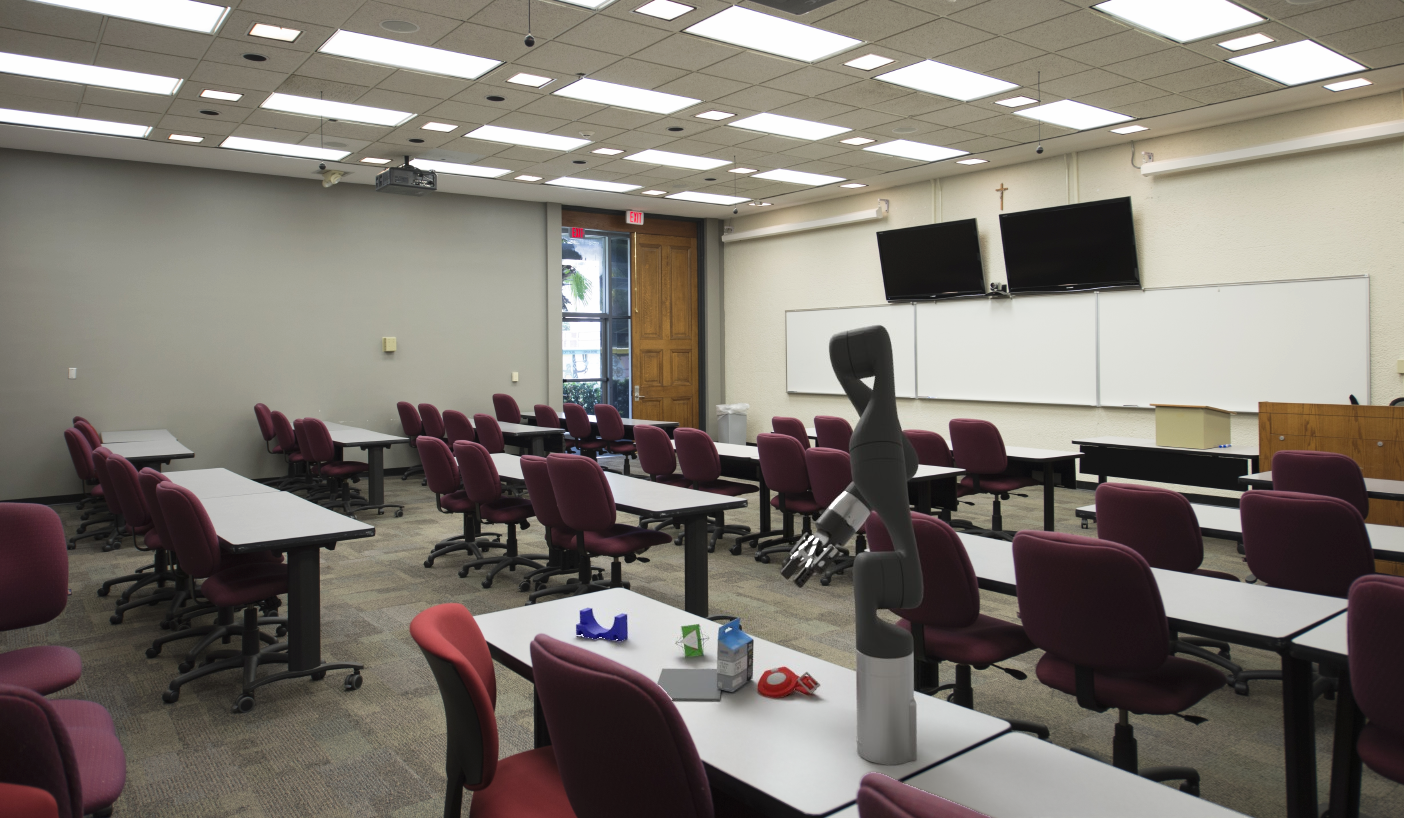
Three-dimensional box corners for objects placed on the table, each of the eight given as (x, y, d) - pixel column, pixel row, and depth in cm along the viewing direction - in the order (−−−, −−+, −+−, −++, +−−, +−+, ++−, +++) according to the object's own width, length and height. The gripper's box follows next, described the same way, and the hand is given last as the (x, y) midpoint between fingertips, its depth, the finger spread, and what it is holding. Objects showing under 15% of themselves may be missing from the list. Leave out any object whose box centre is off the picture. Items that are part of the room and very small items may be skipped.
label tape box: (732, 693, 167) (735, 631, 166) (714, 688, 169) (717, 627, 168) (753, 679, 175) (756, 620, 174) (735, 675, 177) (738, 616, 176)
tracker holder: (757, 695, 164) (753, 665, 174) (762, 714, 165) (758, 683, 175) (819, 680, 164) (811, 651, 173) (824, 699, 165) (815, 669, 174)
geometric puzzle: (670, 639, 194) (676, 618, 189) (699, 636, 196) (705, 614, 192) (678, 666, 189) (685, 645, 184) (708, 662, 191) (714, 641, 186)
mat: (723, 670, 180) (723, 668, 180) (719, 700, 164) (719, 698, 164) (662, 670, 181) (662, 668, 181) (652, 699, 165) (652, 697, 165)
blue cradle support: (576, 636, 205) (575, 612, 205) (588, 631, 209) (587, 607, 209) (616, 644, 199) (615, 619, 199) (627, 639, 203) (627, 614, 203)
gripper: (816, 501, 182) (765, 561, 179) (845, 512, 168) (790, 577, 165) (839, 524, 184) (789, 583, 181) (870, 537, 170) (816, 601, 167)
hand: (789, 580), depth 173 cm, fingers open, 6 cm apart
